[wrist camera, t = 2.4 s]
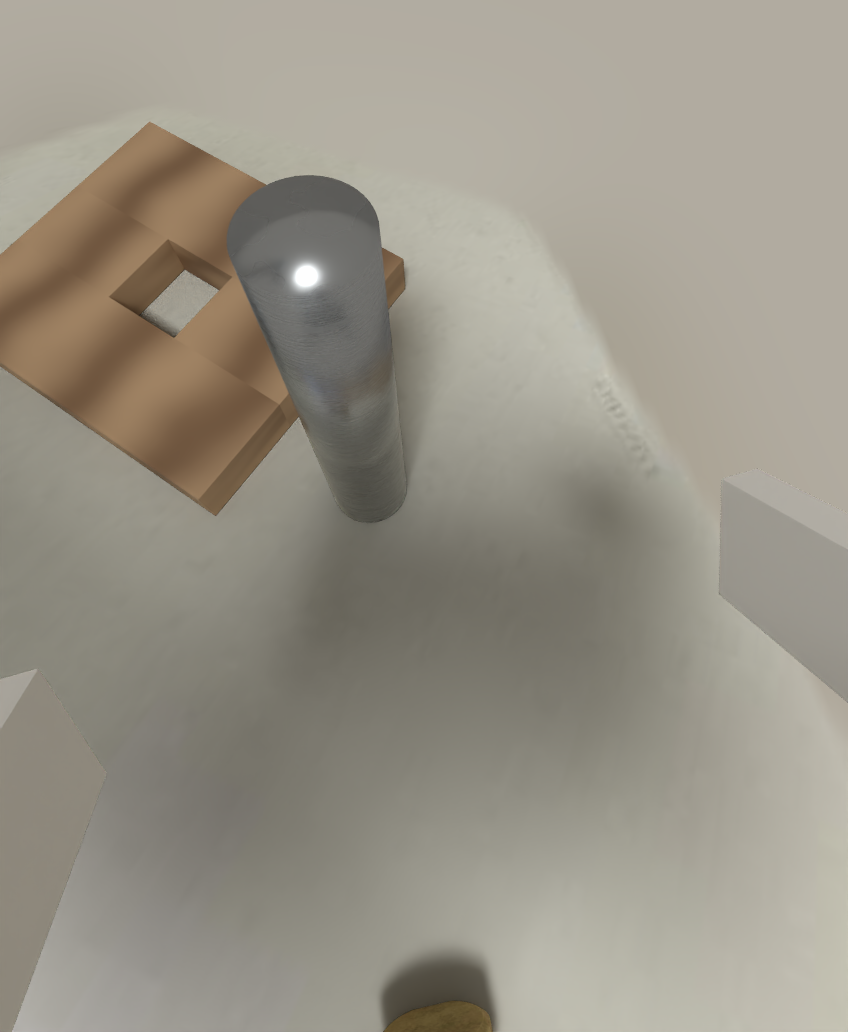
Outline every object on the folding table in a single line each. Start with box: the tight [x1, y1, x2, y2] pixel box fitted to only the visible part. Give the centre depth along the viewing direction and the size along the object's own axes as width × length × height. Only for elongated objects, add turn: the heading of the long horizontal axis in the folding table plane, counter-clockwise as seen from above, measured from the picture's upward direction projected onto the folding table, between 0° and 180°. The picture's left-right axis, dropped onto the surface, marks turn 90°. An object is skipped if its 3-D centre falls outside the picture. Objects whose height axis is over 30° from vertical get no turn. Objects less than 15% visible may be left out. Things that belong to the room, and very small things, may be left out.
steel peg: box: [227, 175, 407, 523], centre depth 24 cm, size 4×4×18 cm
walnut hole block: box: [0, 122, 405, 516], centre depth 35 cm, size 20×18×2 cm
